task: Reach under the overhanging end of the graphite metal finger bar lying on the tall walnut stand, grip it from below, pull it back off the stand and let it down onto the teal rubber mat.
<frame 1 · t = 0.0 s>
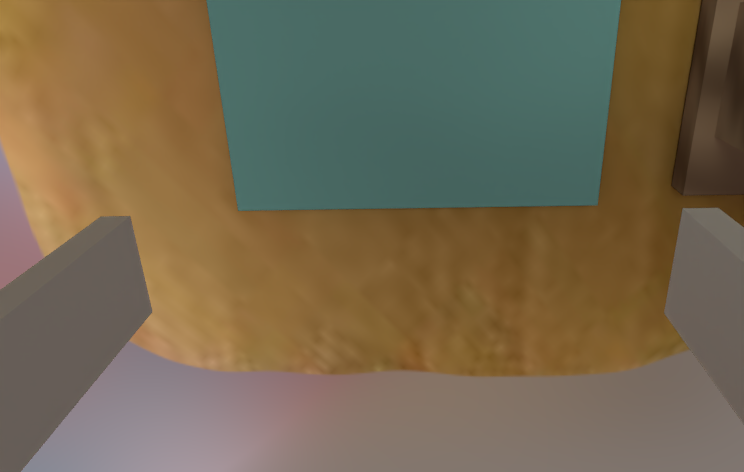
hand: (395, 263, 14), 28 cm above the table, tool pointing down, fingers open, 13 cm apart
teal mat: (410, 78, 39), on the table
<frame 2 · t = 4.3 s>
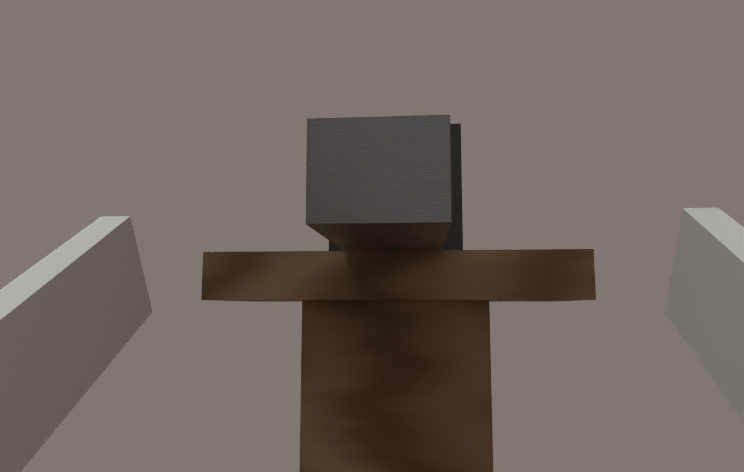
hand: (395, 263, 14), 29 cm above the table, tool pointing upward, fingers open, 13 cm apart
finger bar: (392, 249, 23), point 30 cm above the table, touching walnut stand
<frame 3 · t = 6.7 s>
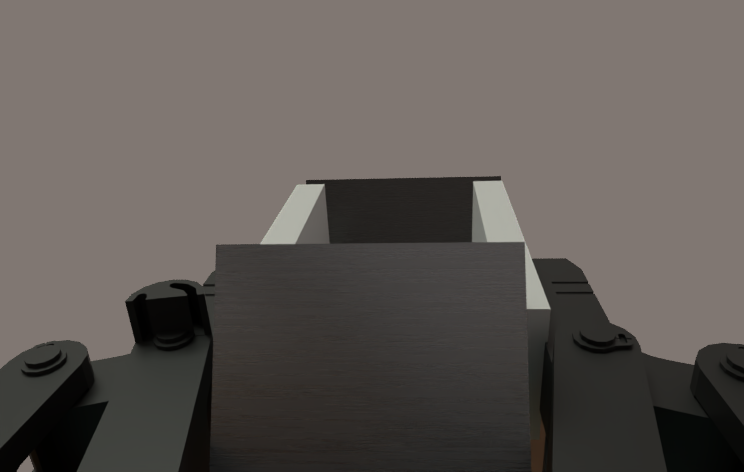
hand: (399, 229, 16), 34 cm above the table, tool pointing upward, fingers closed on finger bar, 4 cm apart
finger bar: (398, 390, 15), point 30 cm above the table, touching gripper, walnut stand
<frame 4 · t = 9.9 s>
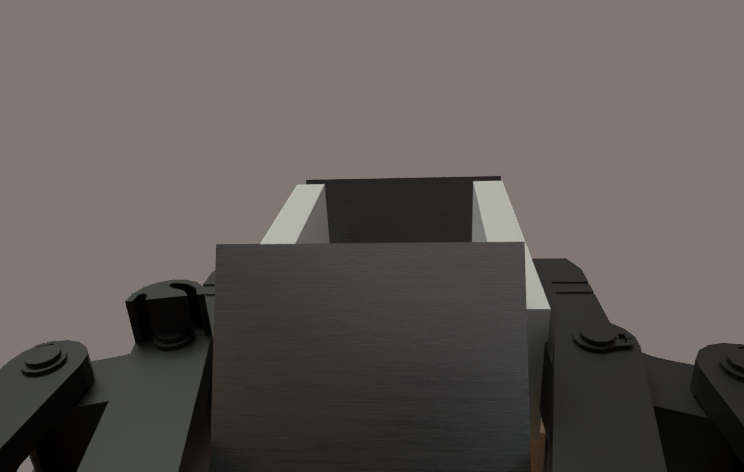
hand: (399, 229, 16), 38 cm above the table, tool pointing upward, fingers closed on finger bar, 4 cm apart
finger bar: (398, 389, 15), point 34 cm above the table, touching gripper
when the fingers open (25 cm above the table, at t = 12.9 s): finger bar drops 19 cm, resting on teal mat.
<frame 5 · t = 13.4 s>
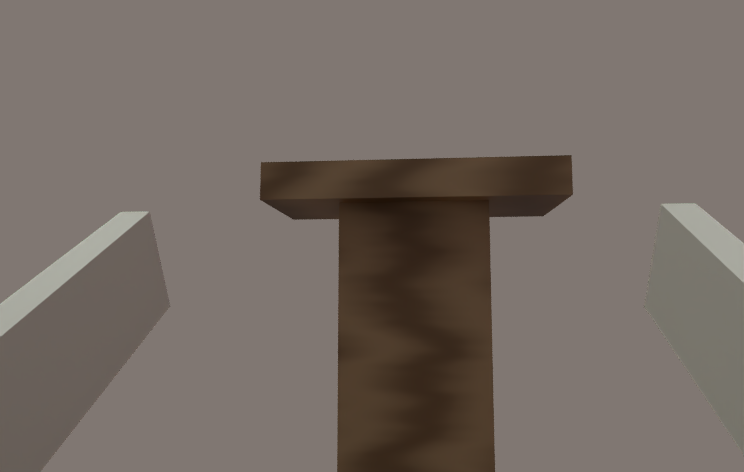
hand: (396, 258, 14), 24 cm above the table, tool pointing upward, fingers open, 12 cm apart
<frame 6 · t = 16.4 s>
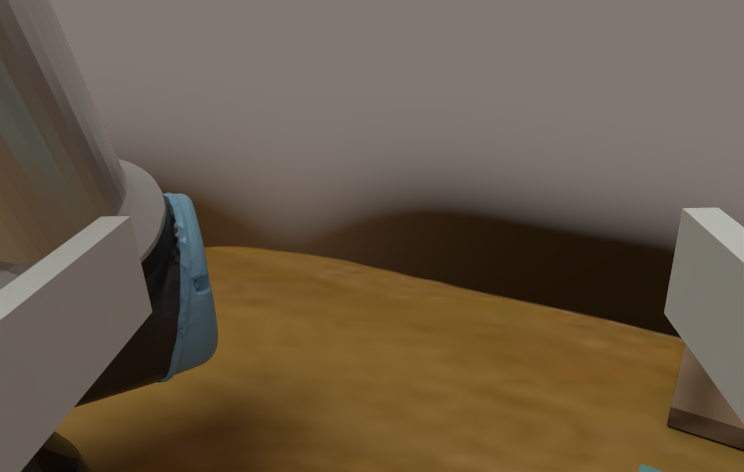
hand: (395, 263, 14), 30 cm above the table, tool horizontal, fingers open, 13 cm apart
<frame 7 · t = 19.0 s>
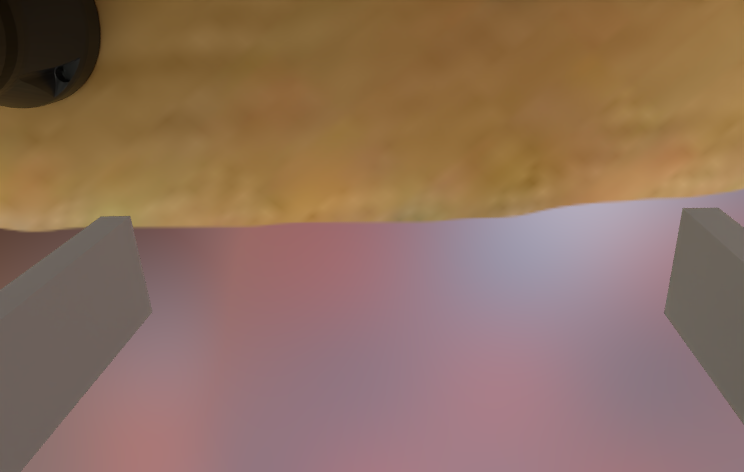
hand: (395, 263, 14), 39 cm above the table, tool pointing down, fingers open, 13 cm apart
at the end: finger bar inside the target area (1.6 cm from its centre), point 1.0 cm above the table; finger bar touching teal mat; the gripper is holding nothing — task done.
